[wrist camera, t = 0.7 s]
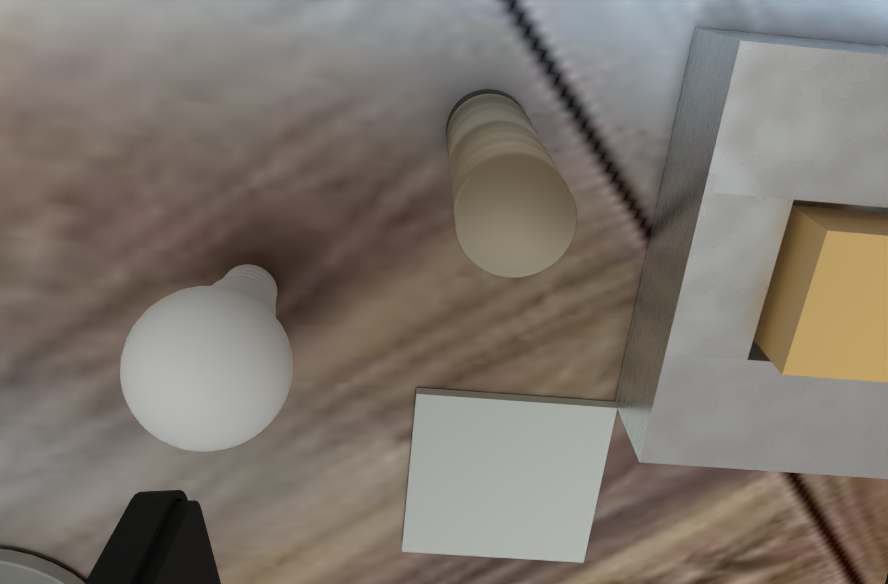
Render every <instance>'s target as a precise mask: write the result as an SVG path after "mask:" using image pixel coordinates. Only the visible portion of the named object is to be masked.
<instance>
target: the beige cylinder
mask: <svg viewBox="0 0 888 584" xmlns="http://www.w3.org/2000/svg"><path fill="white" fill-rule="evenodd" d="M446 134H447V144H448V154H449V164H450V175H451V185H452V195H453V205H454V216H455V226H456V233H457V237H458V240H459V243H460V245H461V247H462V249H463V251H464V252H465V254H466V255H467V256H468V258H469V259H470V260H471V261H472V262H473V263H474V264H476V265H477V266H478V267H480V268H481V269H483V270H485V271H487V272H489V273H492V274H494V275H498V276H502V277H525V276H529V275H533V274H535V273H538V272H540V271H542V270H544V269H546V268H548V267H549V266H551V265H552V264H553V263H555V262H556V261H557V260H558V259H559V258H560V257H561V256H562V255H563V254H564V252H565V251H566V250H567V248H568V246H569V245H570V243H571V241H572V238H573V236H574V233H575V229H576V222H577V211H576V206H575V202H574V199H573V196H572V194H571V192H570V190H569V188H568V187H567V185H566V183H565V181H564V180H563V178H562V176H561V175H560V173H559V171H558V169H557V168H556V166H555V164H554V162H553V161H552V159H551V157H550V156H549V154H548V152H547V150H546V149H545V147H544V145H543V144H542V142H541V140H540V138H539V137H538V135H537V133H536V132H535V130H534V128H533V126H532V125H531V123H530V121H529V119H528V118H527V116H526V114H525V113H524V111H523V109H522V108H521V106H520V105H519V104H518V102H517V101H516V100H515V99H513V98H512V97H511V96H509V95H508V94H506V93H503V92H501V91H497V90H489V89H486V90H479V91H475V92H473V93H470V94H468V95H467V96H465V97H464V98H462V99H461V100H460V101H459V102H458V103H457V104H456V105H455V107H454V108H453V110H452V111H451V113H450V116H449V118H448V122H447V129H446Z"/></svg>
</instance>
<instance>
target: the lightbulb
mask: <svg viewBox="0 0 888 584" xmlns="http://www.w3.org/2000/svg"><path fill="white" fill-rule="evenodd" d="M276 298H277V285H276V282H275V280H274V279H273V277H272V276H271V275H270V273H268V272H267V271H266V270H264V269H263V268H261V267H258V266H256V265H250V264H244V265H239V266H237V267H234V268H233V269H231V270H230V271H229V272H228V273H227V274H226V275H225V276H224V277H223V279H221V280H218V281H217V282H215V283H214V284H213V285H212V286H196V287H191V288H186V289H182V290H180V291H177V292H175V293H172V294H170V295H168V296H166V297H164V298H162V299H161V300H159V301H158V302H156V303H155V304H153V305H152V306H150V307H149V308H148V309H147V310H146V311H145V312H144V314H143V315H142V316H141V317H140V318H139V319H138V320H137V322H136V323H135V324H134V326H133V328H132V329H131V331H130V333H129V335H128V336H127V339H126V342H125V346H124V349H123V353H122V356H121V367H120V381H121V386H122V391H123V395H124V397H125V400H126V402H127V404H128V406H129V408H130V410H131V412H132V413H133V415H134V416H135V417H136V419H137V420H138V422H139V423H140V424H141V425H142V426H143V427H144V428H145V429H146V430H147V431H148V432H149V433H151V434H152V435H154V436H155V437H156V438H158V439H159V440H161V441H163V442H165V443H167V444H169V445H172V446H175V447H178V448H181V449H184V450H191V451H197V452H211V451H217V450H222V449H228V448H232V447H234V446H237V445H240V444H243V443H244V442H246V441H248V440H250V439H251V438H253V437H255V436H256V435H257V434H259V433H260V432H261V431H262V430H263V429H264V428H266V427H267V426H268V425H269V424H270V423H271V422H272V421H273V419H274V418H275V417H276V415H277V414H278V412H279V411H280V410H281V408H282V407H283V405H284V403H285V401H286V398H287V396H288V393H289V390H290V387H291V383H292V376H293V361H292V351H291V346H290V343H289V340H288V337H287V334H286V333H285V331H284V329H283V327H282V325H281V324H280V322H279V321H278V320H277V319H276V306H275V303H276Z"/></svg>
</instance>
